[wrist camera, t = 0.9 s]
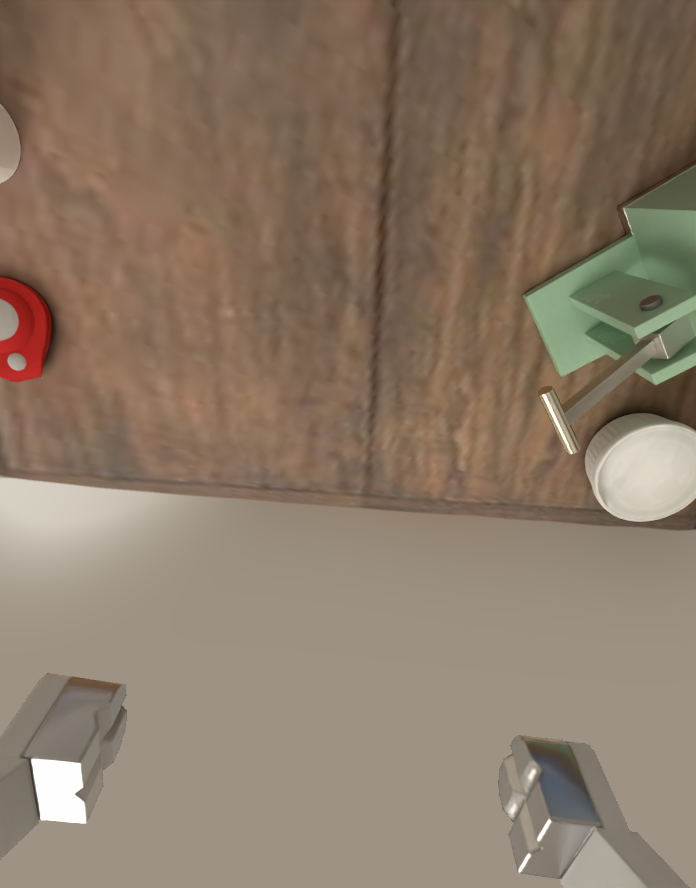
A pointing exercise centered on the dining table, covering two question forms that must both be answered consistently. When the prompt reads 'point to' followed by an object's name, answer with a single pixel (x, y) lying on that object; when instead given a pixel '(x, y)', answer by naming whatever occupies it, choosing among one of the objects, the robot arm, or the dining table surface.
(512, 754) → the robot arm
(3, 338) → the tracker holder
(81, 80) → the dining table surface
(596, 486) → the ramekin
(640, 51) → the dining table surface
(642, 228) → the toaster
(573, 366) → the switch bracket
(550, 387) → the lever
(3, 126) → the cylindrical container
